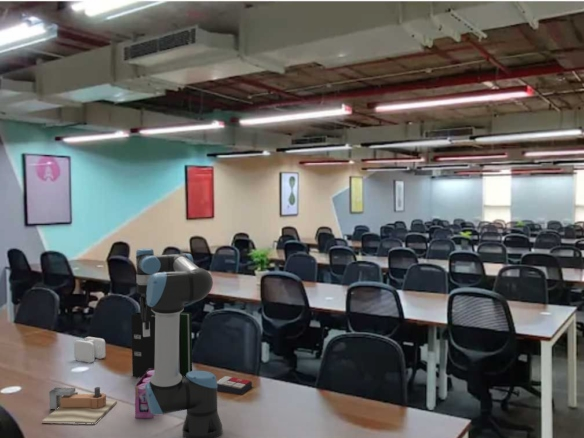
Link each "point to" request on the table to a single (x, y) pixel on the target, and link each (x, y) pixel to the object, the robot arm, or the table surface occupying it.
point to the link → (83, 400)
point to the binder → (146, 345)
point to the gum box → (142, 396)
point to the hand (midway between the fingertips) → (146, 336)
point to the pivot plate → (80, 412)
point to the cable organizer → (89, 349)
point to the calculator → (233, 385)
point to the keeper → (59, 396)
